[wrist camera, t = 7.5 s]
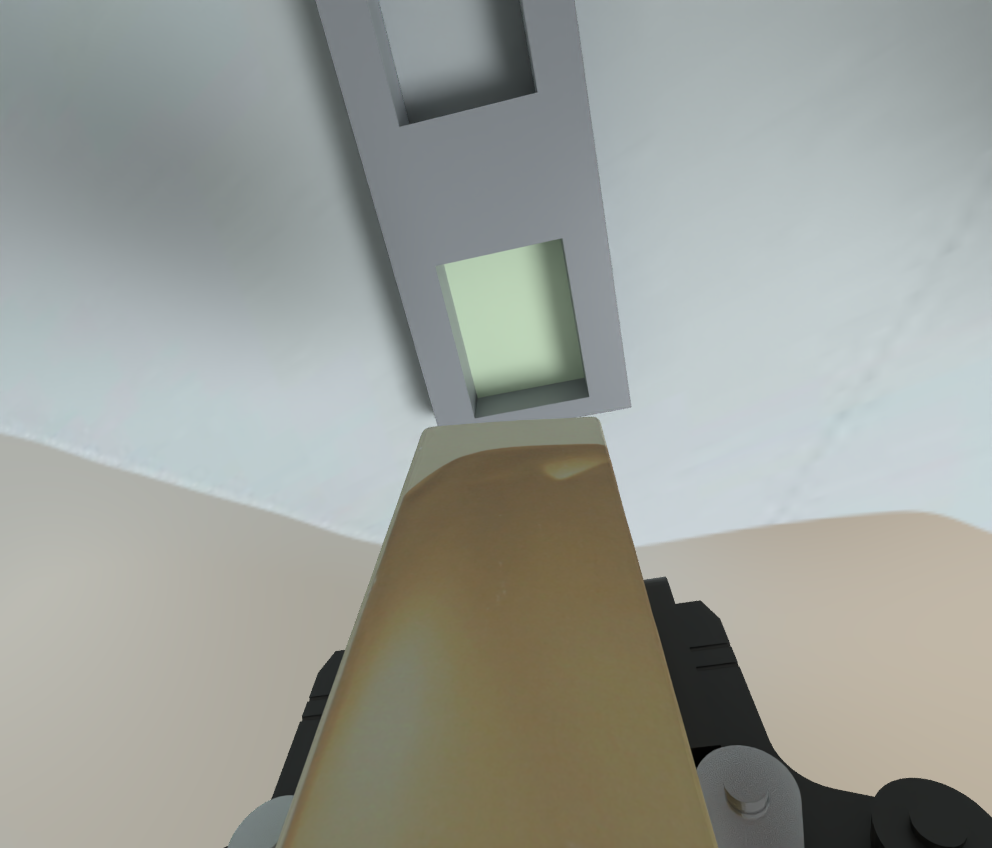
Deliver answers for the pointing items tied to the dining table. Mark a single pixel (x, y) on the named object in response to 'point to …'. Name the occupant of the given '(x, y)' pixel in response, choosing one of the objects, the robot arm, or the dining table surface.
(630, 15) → the dining table surface
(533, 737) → the skincare box
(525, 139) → the panel
